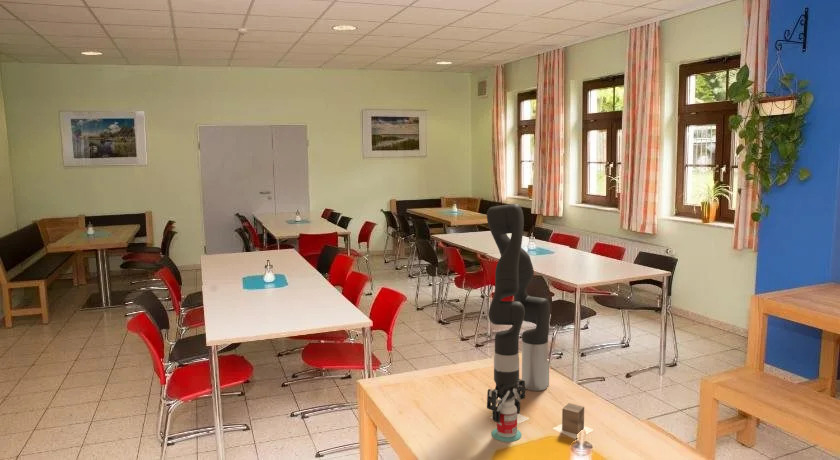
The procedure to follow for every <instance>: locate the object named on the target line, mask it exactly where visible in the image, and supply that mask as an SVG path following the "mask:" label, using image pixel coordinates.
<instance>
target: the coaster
mask: <svg viewBox="0 0 840 460" xmlns="http://www.w3.org/2000/svg"><path fill="white" fill-rule="evenodd" d="M491 436H492V438H493V439H495V440H498V441H499V442H500V441H501V442H504V443H506V442H507V443H511V442H517V441H519V440H520V439H521V438H522V432H521V431H520V430H519V429H517V434H516V435H515V436H514V437H509V438H506V437H501V436H500V435H498V433H497V427H496V428H494V429H493V430H492V431H491Z"/></svg>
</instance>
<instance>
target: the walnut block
mask: <svg viewBox="0 0 840 460" xmlns="http://www.w3.org/2000/svg"><path fill="white" fill-rule="evenodd" d="M561 413H562V417H561V424H562V430H563V431H567V432H570V433H574V434H578V433H579V432H580V431H581V430H583V429H584V426H585V406H582V405H579V404H575V403H570V402H568V403H567V404H566V405H565V406H563V407H562V412H561Z"/></svg>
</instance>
